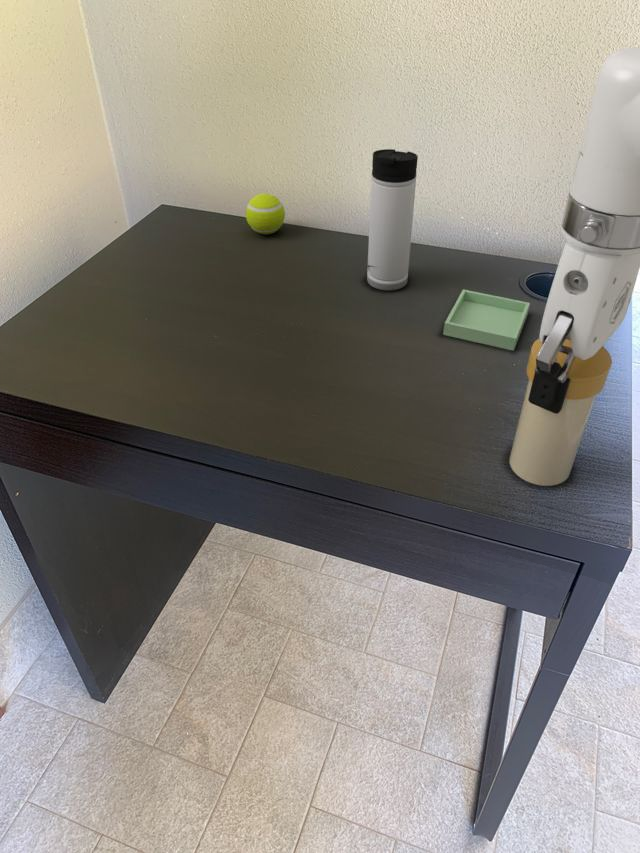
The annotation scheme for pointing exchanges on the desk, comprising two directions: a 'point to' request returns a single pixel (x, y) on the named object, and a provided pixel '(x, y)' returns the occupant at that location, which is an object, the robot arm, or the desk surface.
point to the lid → (578, 371)
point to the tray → (487, 319)
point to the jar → (548, 440)
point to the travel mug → (391, 218)
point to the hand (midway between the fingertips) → (562, 385)
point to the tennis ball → (265, 213)
